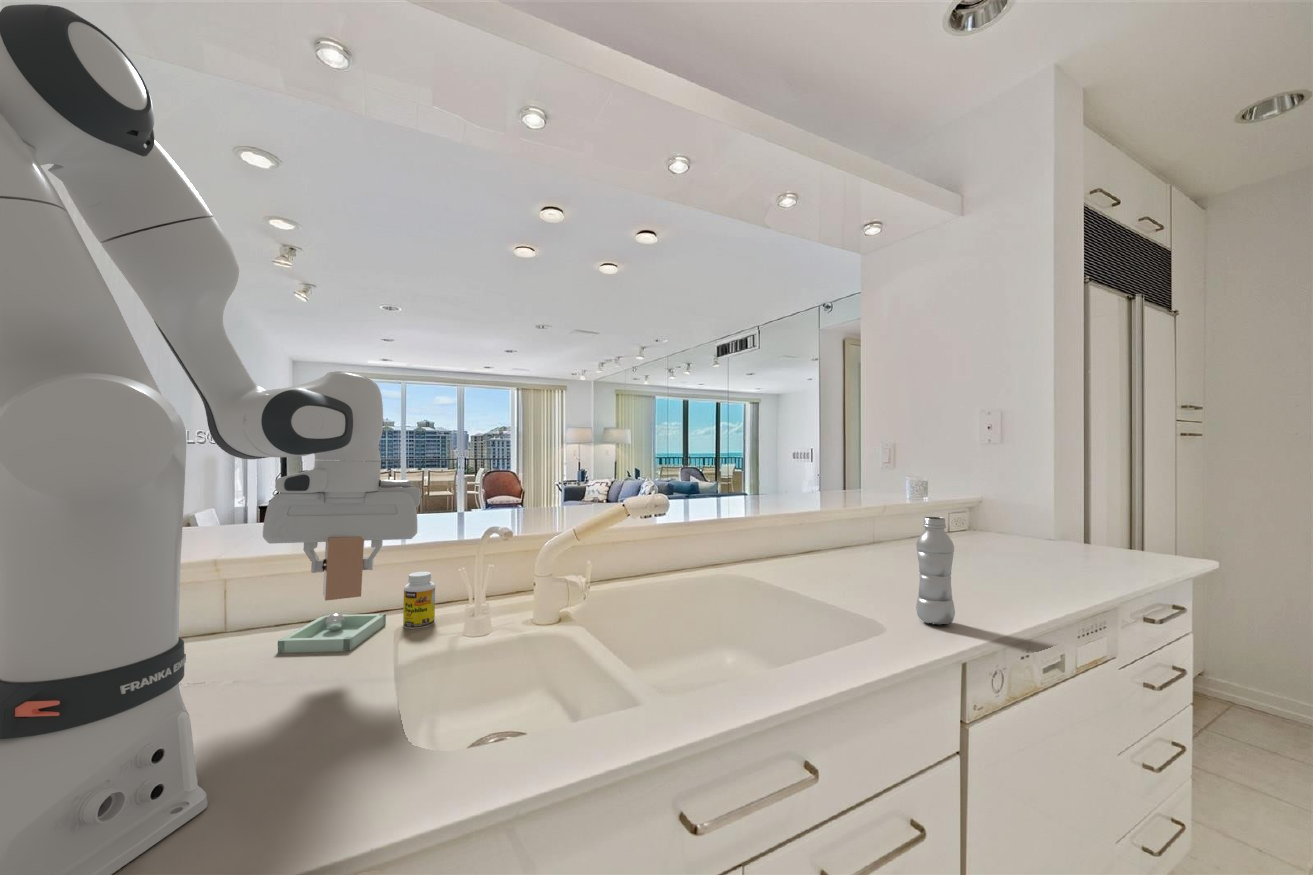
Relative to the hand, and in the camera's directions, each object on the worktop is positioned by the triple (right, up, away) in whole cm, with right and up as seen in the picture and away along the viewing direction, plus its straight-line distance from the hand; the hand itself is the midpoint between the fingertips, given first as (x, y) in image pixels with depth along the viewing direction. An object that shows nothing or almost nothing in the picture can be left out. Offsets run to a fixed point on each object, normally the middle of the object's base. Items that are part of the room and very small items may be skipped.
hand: (343, 570), depth 80 cm
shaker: (0, -4, 0) cm, 4 cm away
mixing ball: (-10, -14, +13) cm, 22 cm away
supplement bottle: (+4, -15, +17) cm, 23 cm away
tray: (-7, -15, +10) cm, 19 cm away
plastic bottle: (+101, -15, +20) cm, 104 cm away
